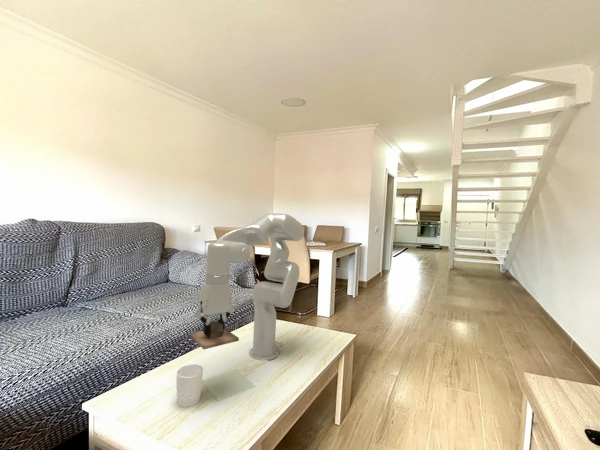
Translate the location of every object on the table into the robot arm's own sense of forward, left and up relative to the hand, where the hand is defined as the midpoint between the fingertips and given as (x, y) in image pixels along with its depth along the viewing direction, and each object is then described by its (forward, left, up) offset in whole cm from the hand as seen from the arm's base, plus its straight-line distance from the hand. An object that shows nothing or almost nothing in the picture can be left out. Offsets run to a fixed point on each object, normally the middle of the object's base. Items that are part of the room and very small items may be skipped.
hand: (213, 333), depth 96 cm
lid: (0, 0, -2) cm, 2 cm away
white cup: (+8, 0, -20) cm, 22 cm away
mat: (-6, -1, -20) cm, 21 cm away
